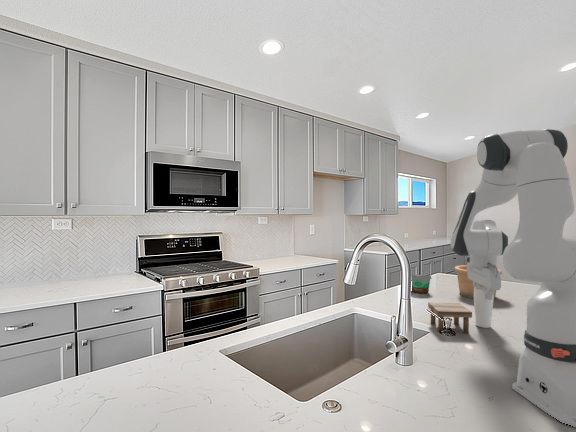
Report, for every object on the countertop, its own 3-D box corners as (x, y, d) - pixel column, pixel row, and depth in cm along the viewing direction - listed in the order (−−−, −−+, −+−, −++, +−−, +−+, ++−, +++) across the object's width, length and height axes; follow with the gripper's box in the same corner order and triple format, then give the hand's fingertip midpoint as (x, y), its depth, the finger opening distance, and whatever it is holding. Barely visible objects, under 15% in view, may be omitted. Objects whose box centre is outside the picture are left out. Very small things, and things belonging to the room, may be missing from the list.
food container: (408, 293, 182) (408, 275, 182) (407, 290, 188) (407, 273, 188) (432, 295, 179) (432, 276, 178) (431, 292, 184) (431, 274, 184)
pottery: (447, 295, 179) (447, 268, 179) (463, 288, 194) (463, 263, 193) (493, 303, 163) (493, 274, 162) (506, 295, 178) (507, 268, 177)
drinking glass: (496, 329, 128) (496, 290, 127) (476, 328, 129) (477, 289, 129) (489, 323, 134) (489, 286, 134) (470, 322, 136) (471, 285, 135)
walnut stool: (471, 333, 123) (472, 312, 123) (438, 332, 125) (438, 311, 125) (458, 322, 135) (458, 303, 135) (428, 321, 137) (428, 302, 136)
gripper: (506, 265, 120) (505, 303, 121) (479, 257, 141) (479, 289, 141) (488, 265, 121) (487, 303, 121) (464, 257, 141) (463, 289, 142)
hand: (482, 295), depth 131 cm, fingers open, 8 cm apart
